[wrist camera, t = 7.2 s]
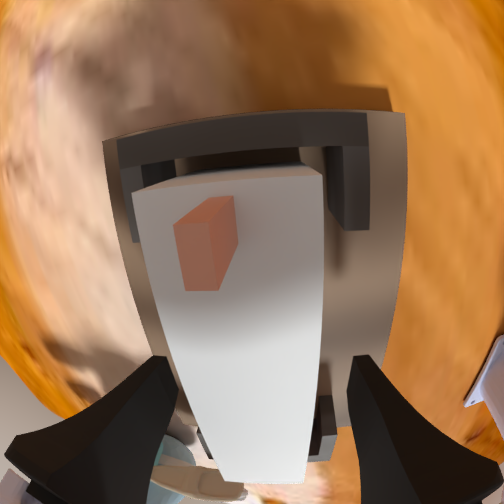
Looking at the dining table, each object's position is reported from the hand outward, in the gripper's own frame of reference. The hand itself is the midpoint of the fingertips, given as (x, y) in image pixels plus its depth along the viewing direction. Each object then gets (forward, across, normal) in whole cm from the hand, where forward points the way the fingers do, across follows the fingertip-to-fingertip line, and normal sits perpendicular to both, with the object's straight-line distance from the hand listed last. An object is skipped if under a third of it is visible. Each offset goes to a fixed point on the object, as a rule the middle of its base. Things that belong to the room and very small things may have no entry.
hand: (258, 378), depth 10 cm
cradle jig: (+5, 0, 0) cm, 5 cm away
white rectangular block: (+3, 0, 0) cm, 3 cm away
